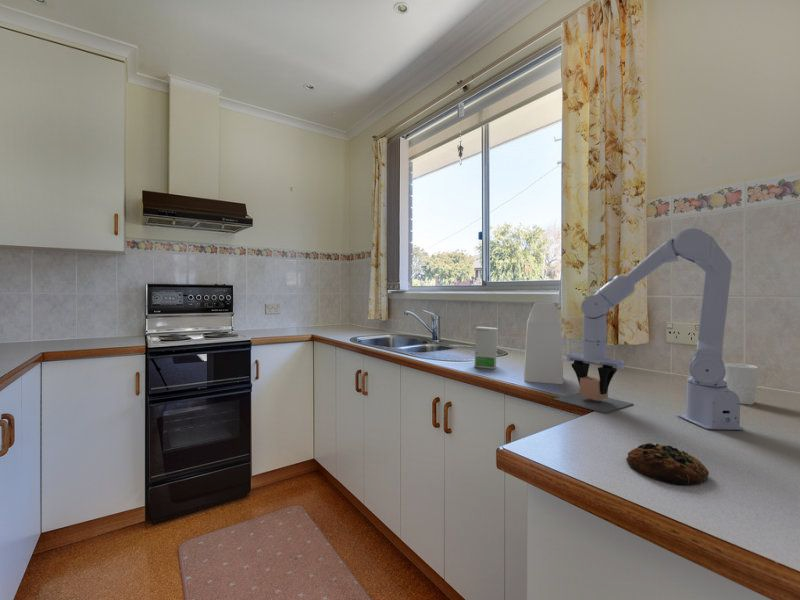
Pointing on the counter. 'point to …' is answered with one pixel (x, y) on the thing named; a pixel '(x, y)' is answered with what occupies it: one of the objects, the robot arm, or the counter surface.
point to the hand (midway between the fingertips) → (593, 391)
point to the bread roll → (667, 464)
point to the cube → (591, 388)
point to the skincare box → (486, 347)
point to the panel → (594, 403)
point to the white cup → (742, 381)
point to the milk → (543, 345)
